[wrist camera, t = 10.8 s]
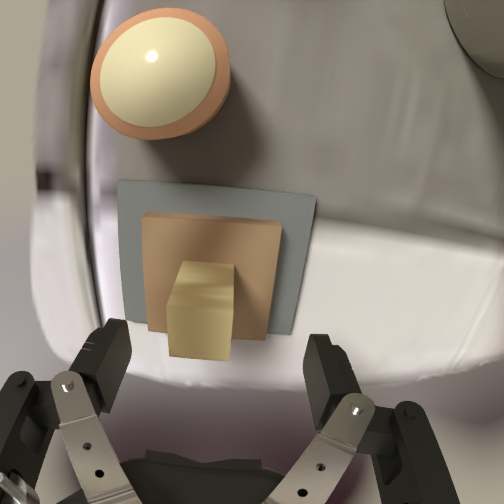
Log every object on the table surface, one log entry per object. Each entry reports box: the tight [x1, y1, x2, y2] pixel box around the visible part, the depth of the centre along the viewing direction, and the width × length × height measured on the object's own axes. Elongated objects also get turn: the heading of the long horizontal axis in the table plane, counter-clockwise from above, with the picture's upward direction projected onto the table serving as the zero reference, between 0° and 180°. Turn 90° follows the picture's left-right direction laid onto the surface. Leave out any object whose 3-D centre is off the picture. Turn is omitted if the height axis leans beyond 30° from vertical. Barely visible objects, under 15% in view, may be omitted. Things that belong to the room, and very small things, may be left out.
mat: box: [118, 180, 316, 334], centre depth 19 cm, size 12×10×1 cm
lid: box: [141, 211, 282, 361], centre depth 17 cm, size 8×8×6 cm
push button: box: [90, 8, 231, 140], centre depth 13 cm, size 7×7×5 cm
